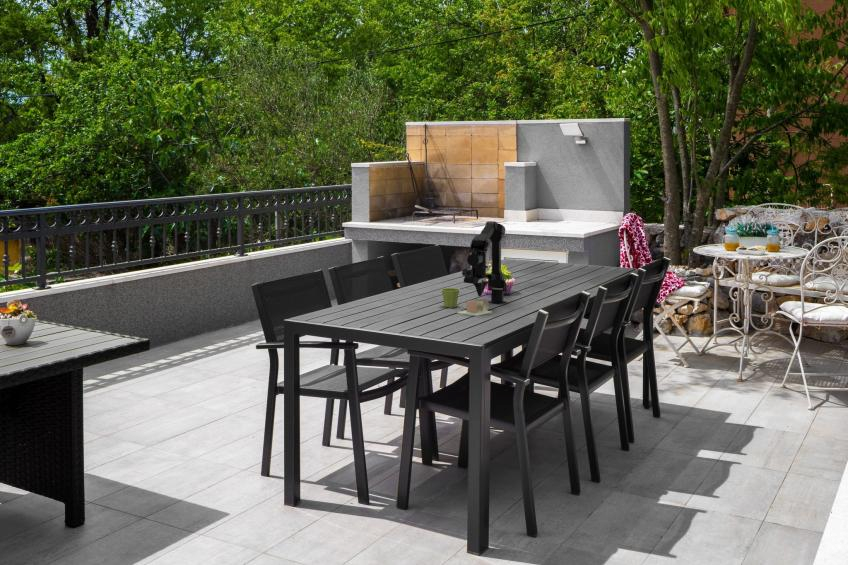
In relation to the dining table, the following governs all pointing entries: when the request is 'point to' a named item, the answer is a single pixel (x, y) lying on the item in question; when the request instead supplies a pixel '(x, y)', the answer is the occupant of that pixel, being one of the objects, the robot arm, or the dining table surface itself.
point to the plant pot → (450, 297)
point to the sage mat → (474, 313)
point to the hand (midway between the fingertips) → (479, 296)
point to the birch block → (477, 305)
